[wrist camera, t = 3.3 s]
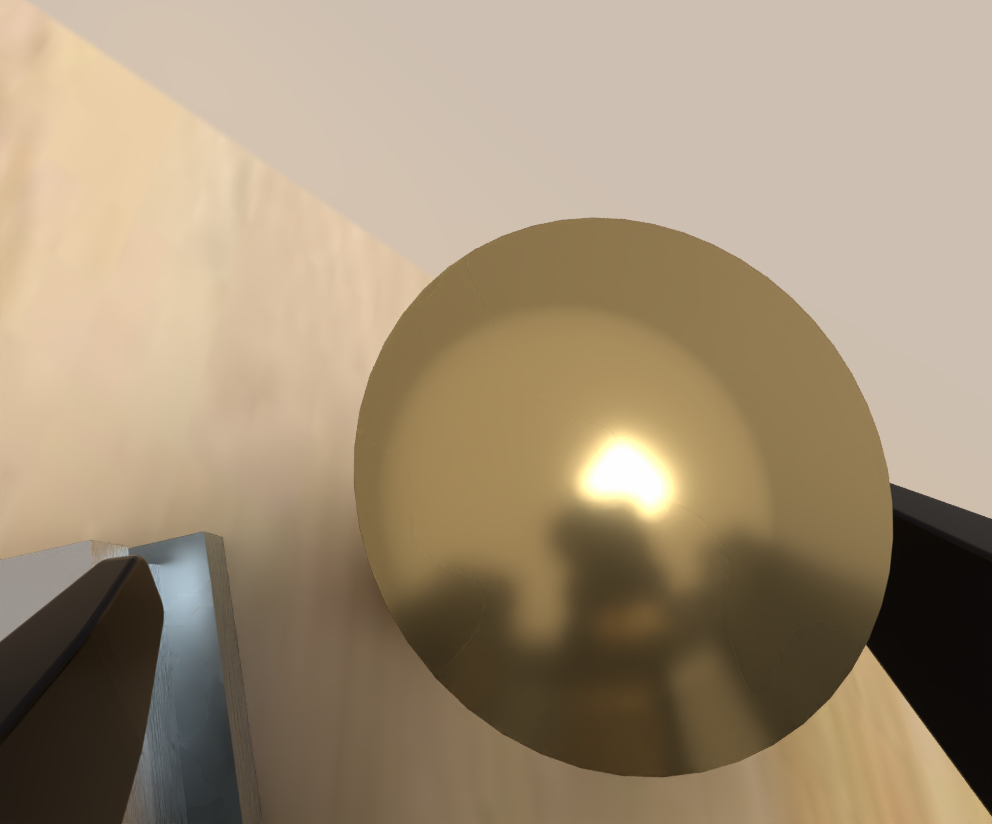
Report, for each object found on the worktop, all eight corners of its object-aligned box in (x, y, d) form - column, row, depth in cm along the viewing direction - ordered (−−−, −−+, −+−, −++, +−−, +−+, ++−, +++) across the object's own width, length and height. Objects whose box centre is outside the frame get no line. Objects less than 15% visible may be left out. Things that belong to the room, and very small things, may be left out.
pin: (534, 610, 15) (981, 668, 4) (402, 648, 15) (428, 880, 3) (500, 481, 16) (775, 191, 4) (374, 512, 16) (306, 253, 4)
